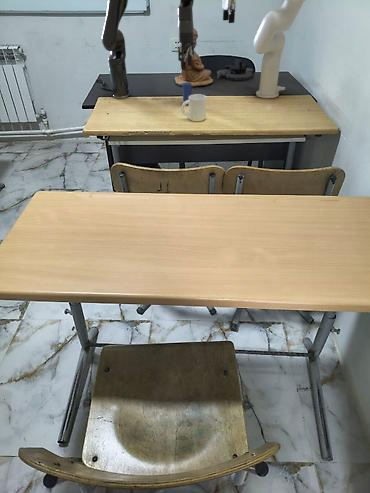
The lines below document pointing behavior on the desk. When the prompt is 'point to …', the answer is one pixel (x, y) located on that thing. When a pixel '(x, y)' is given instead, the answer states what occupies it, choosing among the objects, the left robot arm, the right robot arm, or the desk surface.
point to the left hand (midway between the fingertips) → (186, 67)
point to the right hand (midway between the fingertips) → (228, 21)
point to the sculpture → (194, 70)
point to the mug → (195, 107)
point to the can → (187, 91)
